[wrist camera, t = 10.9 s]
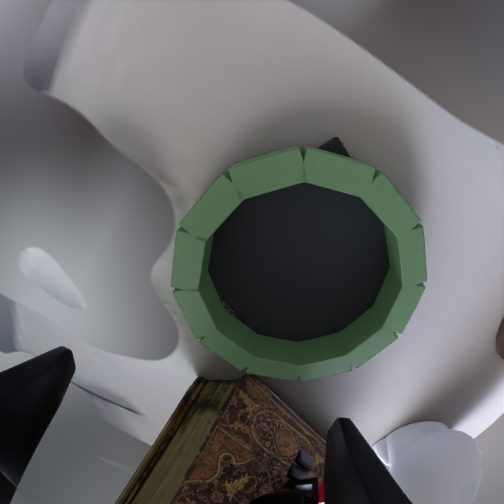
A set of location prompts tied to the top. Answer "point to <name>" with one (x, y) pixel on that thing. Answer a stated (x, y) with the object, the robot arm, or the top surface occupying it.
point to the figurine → (433, 463)
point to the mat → (300, 259)
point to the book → (224, 447)
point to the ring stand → (500, 340)
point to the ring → (322, 348)
